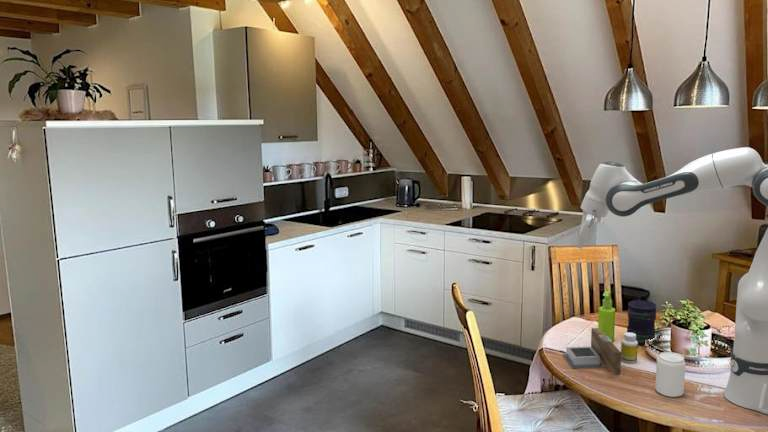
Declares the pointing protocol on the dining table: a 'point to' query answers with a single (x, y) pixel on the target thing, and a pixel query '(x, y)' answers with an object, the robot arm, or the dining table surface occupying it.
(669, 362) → the white lidded canister
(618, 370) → the board
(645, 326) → the storage jar
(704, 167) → the robot arm
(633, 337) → the supplement bottle
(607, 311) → the soap dispenser
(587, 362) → the keeper socket
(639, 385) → the dining table surface
